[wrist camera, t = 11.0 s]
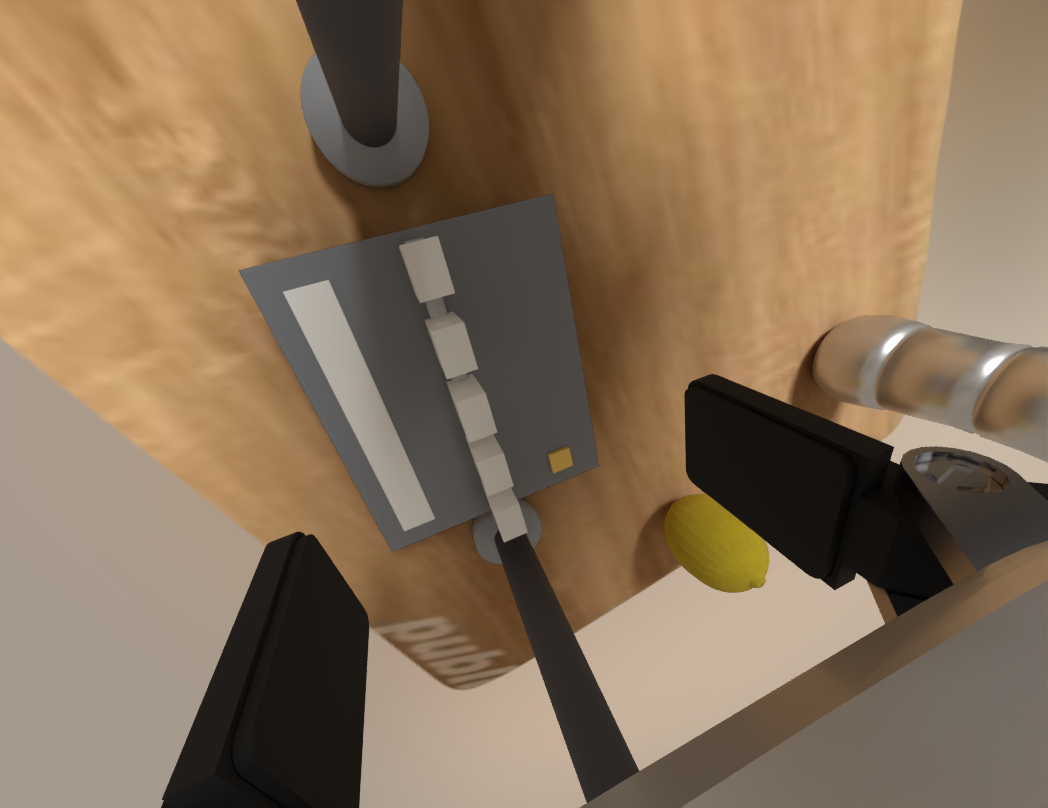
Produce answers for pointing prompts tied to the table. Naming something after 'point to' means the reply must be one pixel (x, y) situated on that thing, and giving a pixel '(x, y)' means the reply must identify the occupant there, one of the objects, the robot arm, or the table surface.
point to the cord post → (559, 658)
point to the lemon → (715, 545)
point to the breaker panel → (437, 362)
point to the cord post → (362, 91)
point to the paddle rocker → (463, 380)
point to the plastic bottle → (939, 378)
